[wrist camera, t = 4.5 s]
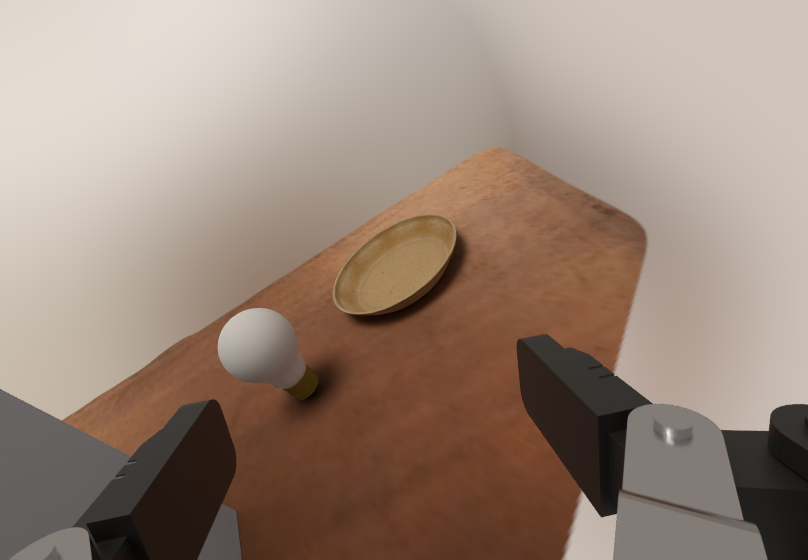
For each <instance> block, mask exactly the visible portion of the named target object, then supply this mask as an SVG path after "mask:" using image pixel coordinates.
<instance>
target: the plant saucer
mask: <svg viewBox="0 0 808 560" xmlns="http://www.w3.org/2000/svg"><path fill="white" fill-rule="evenodd" d="M455 242H456V228H455V226H454V224H453V222H452V221H451V220H450V219H449V218H447V217H445V216H443V215H439V214H422V215H416V216H413V217H409V218H406V219H404V220H401V221H399V222H397V223H395V224H393V225H391V226H389V227H387V228H385V229H383V230H382V231H380V232H379V233H377V234H376V235H374V236H373V237H372V238H370V239H369V240H368V241H366V242H365V243H364V244H363V245H362V246H360V247H359V248H358V249H357V250H356V251H355V252H354V253H353V255H352V256H351V257H350V258H349V259H348V260H347V261H346V263H345V264H344V266H343V267H342V268H341V270H340V272H339V274H338V276H337V278H336V281H335V283H334V288H333V300H334V302H335V305H336V306H337V307H338V308H339V309H340V310H342V311H343V312H346V313H349V314H355V315H366V316H367V315H381V314H386V313H391V312H395V311H397V310H400V309H403V308H405V307H407V306H409V305H411V304H412V303H414V302H416V301H417V300H418V299H420V298H421V297H423V296H424V295H425V294H426V293H427V292H429V291H430V290H431V289H432V288H433V287H434V286H435V284H436V283H437V282H438V281H439V279H440V278H441V276H442V275H443V273H444V271H445V270H446V268H447V266H448V264H449V261H450V259H451V256H452V253H453V250H454V246H455Z"/></svg>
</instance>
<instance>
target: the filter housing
mask: <svg viewBox="0 0 808 560" xmlns="http://www.w3.org/2000/svg"><path fill="white" fill-rule="evenodd" d="M130 458H131V456H129V455H127V454H125V453H123V452H121V451H119V450H117V449H115V448H113V447H111V446H109V445H107V444H105V443H104V442H102V441H100V440H98V439H96V438H94V437H92V436H90V435H88V434H86V433H84V432H82V431H80V430H78V429H76V428H75V427H73V426H71V425H69V424H67V423H65V422H63V421H61V420H59V419H57V418H55V417H53V416H51V415H49V414H47V413H45V412H43V411H41V410H40V409H38V408H35V407H34V406H32V405H30V404H28V403H26V402H24V401H22V400H20V399H18V398H16V397H14V396H13V395H10V394H9V393H7V392H5V391H3V390H1V389H0V560H9V559H10V558H11V557H13V556H14V555H15V554H17V553H18V552H19V551H21V550H22V549H24V548H26V547H27V546H29V545H30V544H32V543H34V542H35V541H37V540H39V539H41V538H43V537H45V536H47V535H50V534H52V533H54V532H57V531H60V530H63V529H67V528H72V527H73V526H74V524H75V523H76V522H77V521H78V520H79V519H80V517H81V516H82V515H83V514H84V513H85V511H86V510H87V509H88V508H89V507H90V505H91V504H92V503H93V502H94V501H95V499H96V498H97V497H98V496H99V495H100V494H101V492H102V491H103V490H104V489H105V488H106V486H107V485H108V484H109V483H110V482H111V480H113V479H115V476H116V474H117V473H118V472H119V471H120V470H121V469H122V467H123V466H124V465H127V461H128V460H129V459H130ZM197 560H242V556H241V548H240V539H239V530H238V522H237V513H236V511H235V510H233V509H231V508H229V507H227V506H225V505H224V504H221V507H220V509H219V511H218V514H217V516H216V518H215V520H214V523H213V525H212V527H211V530H210V532H209V534H208V536H207V539H206V541H205V543H204V546H203V548H202V550H201V552H200V555H199V557H198V559H197Z"/></svg>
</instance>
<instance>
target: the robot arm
mask: <svg viewBox="0 0 808 560" xmlns="http://www.w3.org/2000/svg"><path fill="white" fill-rule="evenodd" d="M517 357H518V368H519V379H520V389H521V396H522V400H523V403H524V406H525V408H526V410H527V412H528V414H529V416H530V417H531V419H532V420H533V421H534V423H535V424H536V426H537V427H538V428H539V430H540V431H541V433H542V434H543V436H544V437H545V438H546V440H547V441H548V443H549V444H550V446H551V447H552V448H553V450H554V451H555V453H556V454H557V455H558V457H559V458H560V460H561V461H562V463H563V464H564V465H565V467H566V468H567V470H568V471H569V472H570V474H571V475H572V477H573V478H574V480H575V481H576V482H577V484H578V485H579V487H580V488H581V489H582V491H583V492H584V494H585V495H586V496H587V498H588V499H589V501H590V502H591V504H592V505H593V506H594V508H595V509H596V511H597V512H598V514H599V515H600V516H601V517H605V516H610V515H614V514H617V521H616V532H615V545H614V556H613V560H808V405H805V404H793V405H785V406H781V407H778V408H776V409H775V410H773V412H772V413H771V417H770V425H769V431H732V430H720V429H719V428H718V426H717V425H716V424H715V423H713V422H712V421H711V420H710V419H708V418H707V417H705V416H703V415H701V414H699V413H697V412H695V411H692V410H689V409H687V408H683V407H679V406H674V405H667V404H652V403H651V402H650V401H649V400H647V399H646V398H645V397H643V396H642V395H641V394H639V393H638V392H637V391H636V390H634V389H633V388H632V387H630V386H629V385H628V384H627V383H625V382H624V381H623V380H621V379H620V378H619V377H618V376H614V373H612V372H611V371H610V370H608V369H607V368H606V367H603V365H602V364H601V363H599V362H598V361H597V360H596V359H594V358H593V357H592V356H590V355H589V354H586V353H583V352H581V351H578V350H576V349H573V348H566V349H564V348H563V347H562V346H561V345H560V344H558V343H557V342H556V341H555V340H554V339H552V338H551V337H550V336H549V335H547V334H542V335H537V336H532V337H527V338H522V339H519V340H518V341H517ZM235 470H236V453H235V448H234V445H233V442H232V439H231V436H230V433H229V430H228V427H227V424H226V421H225V418H224V415H223V412H222V410H221V407H220V405H219V403H218V402H217V401H216V400H213V399H212V400H207V401H202V402H197V403H192V404H187V405H183V406H181V407H180V408H179V409H178V411H177V412H176V413H175V414H174V415H173V417H172V418H171V419H170V420H169V422H168V423H167V424H166V425H165V427H164V428H163V429H161V430H160V431H159V432H157V433H156V434H155V435H154V436H152V437H151V438H150V439H148V440H147V441H146V442H145V443H143V444H142V445H141V446H140V447H139V448H138V449H137V451H136V452H135V453H134V454H133V455H132V457H131V458H130V459H129V460H128V461H127V465H124V466H123V467H122V469H121V470H120V471H119V472H118V473H117V474H116V476H115V479H113V480H111V482H110V483H109V484H108V485H107V486H106V488H105V489H104V490H103V491H102V492H101V494H100V495H99V496H98V497H97V498H96V499H95V501H94V502H93V503H92V504H91V505H90V507H89V508H88V509H87V510H86V511H85V513H84V514H83V515H82V516H81V517H80V519H79V520H78V521H77V522H76V523H75V524H74V526H73V527H72V528H67V529H63V530H60V531H57V532H54V533H52V534H50V535H47V536H45V537H43V538H41V539H39V540H37V541H35V542H34V543H32V544H30V545H29V546H27V547H26V548H24V549H22V550H21V551H19V552H18V553H17V554H15V555H14V556H13V557H11V558H10V559H9V560H197V559H198V557H199V555H200V552H201V550H202V548H203V546H204V543H205V541H206V539H207V536H208V534H209V532H210V530H211V527H212V525H213V523H214V520H215V518H216V516H217V514H218V511H219V509H220V507H221V504H222V502H223V500H224V498H225V495H226V493H227V491H228V488H229V486H230V484H231V482H232V479H233V477H234V474H235Z"/></svg>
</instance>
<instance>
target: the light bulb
mask: <svg viewBox="0 0 808 560" xmlns="http://www.w3.org/2000/svg"><path fill="white" fill-rule="evenodd" d="M218 354H219V358H220V361H221V363H222V365H223V366H224V368H225V369H226V370H227V371H228V372H229V373H230V374H231V375H232V376H234V377H235V378H237V379H239V380H242V381H245V382H251V383H268V384H272V385H274V386H276V387H278V388H282V389H284V390H285V391H287V392H288V393H289V394H290V395H292V396H293V397H295V398H296V399H298V400H302V399H305V398H307V397H309V396H311V395H312V394H313V393H314V392H315V390H316V388H317V385H318V376H317V375H316V374H315V373H314V372H313V371H312V370H311V369H310V368H309V367H308V366H307V364H305V361H304V359H303V357H302V356H301V354H300V353H299V350H298V347H297V340H296V335H295V332H294V329H293V327H292V325H291V324H290V322H289V321H288V320H287V319H286V318H285V317H284V316H282V315H281V314H279V313H277V312H275V311H273V310H270V309H265V308H254V309H249V310H245V311H243V312H240V313H239V314H237V315H235V316H234V317H233V318H231V319H230V320H229V321H228V322H227V324H226V325H225V326H224V328H223V330H222V331H221V334H220V337H219V340H218Z"/></svg>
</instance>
